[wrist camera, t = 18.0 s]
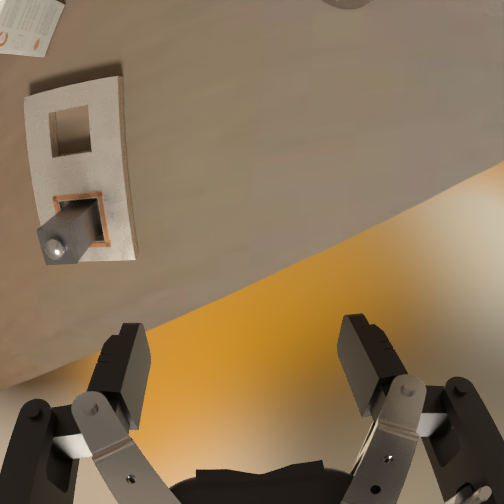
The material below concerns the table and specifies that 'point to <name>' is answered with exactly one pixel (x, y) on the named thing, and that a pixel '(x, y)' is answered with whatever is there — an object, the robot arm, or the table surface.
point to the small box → (28, 25)
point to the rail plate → (84, 163)
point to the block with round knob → (70, 232)
